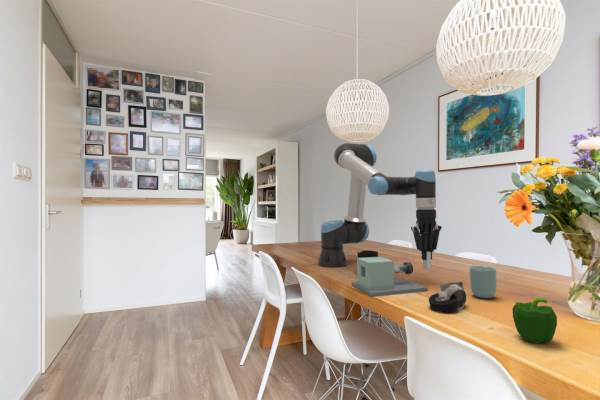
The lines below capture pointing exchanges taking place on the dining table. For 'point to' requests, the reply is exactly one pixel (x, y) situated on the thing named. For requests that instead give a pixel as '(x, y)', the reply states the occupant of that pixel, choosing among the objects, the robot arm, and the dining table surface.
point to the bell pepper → (535, 321)
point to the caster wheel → (448, 298)
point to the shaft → (404, 268)
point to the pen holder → (367, 254)
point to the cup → (483, 281)
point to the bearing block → (382, 278)
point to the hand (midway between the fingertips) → (427, 267)
